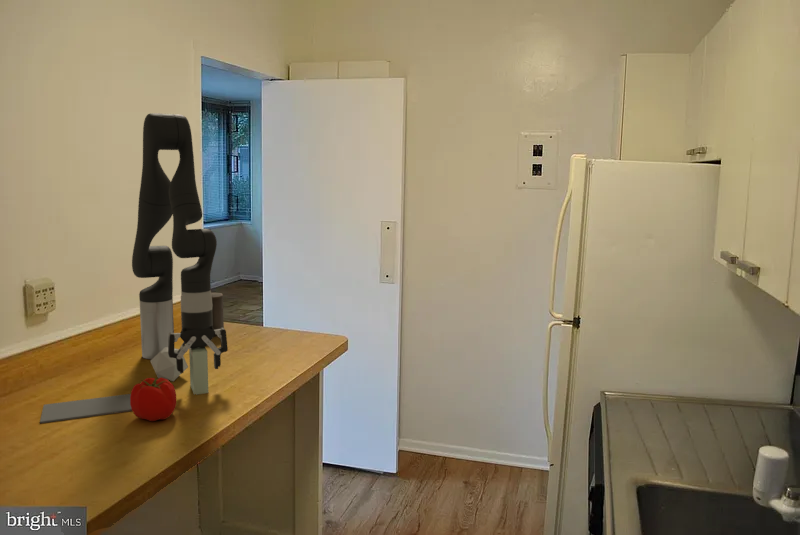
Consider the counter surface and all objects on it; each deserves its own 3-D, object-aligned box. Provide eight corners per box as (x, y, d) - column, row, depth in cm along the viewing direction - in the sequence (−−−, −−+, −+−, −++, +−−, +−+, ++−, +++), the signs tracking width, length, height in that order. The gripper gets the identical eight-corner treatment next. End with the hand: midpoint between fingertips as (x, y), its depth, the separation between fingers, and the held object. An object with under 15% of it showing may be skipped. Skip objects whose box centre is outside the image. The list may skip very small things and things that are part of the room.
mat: (43, 406, 147) (43, 404, 147) (135, 394, 156) (135, 393, 155) (40, 423, 137) (39, 421, 137) (138, 410, 146) (138, 408, 146)
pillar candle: (208, 339, 207) (207, 295, 205) (188, 334, 212) (186, 291, 210) (230, 333, 216) (229, 290, 213) (210, 329, 220) (209, 287, 218)
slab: (190, 386, 163) (188, 345, 161) (204, 384, 164) (203, 343, 162) (193, 394, 156) (192, 352, 155) (208, 392, 158) (207, 350, 156)
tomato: (150, 430, 135) (148, 392, 133) (119, 419, 140) (117, 382, 139) (190, 415, 143) (189, 378, 142) (159, 405, 149) (158, 370, 148)
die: (195, 378, 170) (186, 345, 174) (181, 372, 162) (173, 337, 166) (165, 389, 170) (157, 356, 173) (150, 384, 161) (142, 348, 165)
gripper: (223, 303, 163) (224, 363, 166) (165, 307, 157) (167, 369, 159) (228, 308, 157) (230, 371, 159) (168, 313, 150) (170, 378, 153)
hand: (198, 370), depth 159 cm, fingers open, 8 cm apart
